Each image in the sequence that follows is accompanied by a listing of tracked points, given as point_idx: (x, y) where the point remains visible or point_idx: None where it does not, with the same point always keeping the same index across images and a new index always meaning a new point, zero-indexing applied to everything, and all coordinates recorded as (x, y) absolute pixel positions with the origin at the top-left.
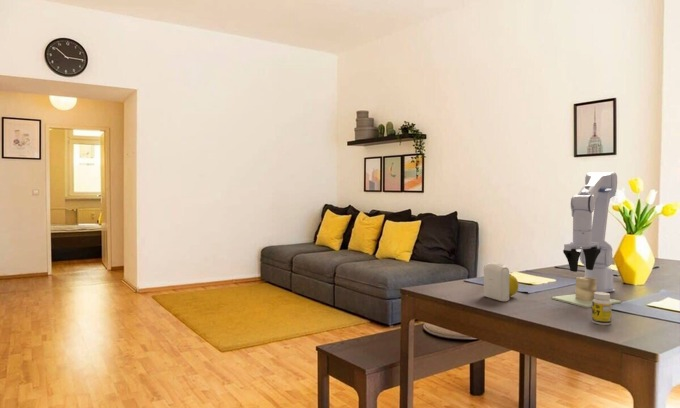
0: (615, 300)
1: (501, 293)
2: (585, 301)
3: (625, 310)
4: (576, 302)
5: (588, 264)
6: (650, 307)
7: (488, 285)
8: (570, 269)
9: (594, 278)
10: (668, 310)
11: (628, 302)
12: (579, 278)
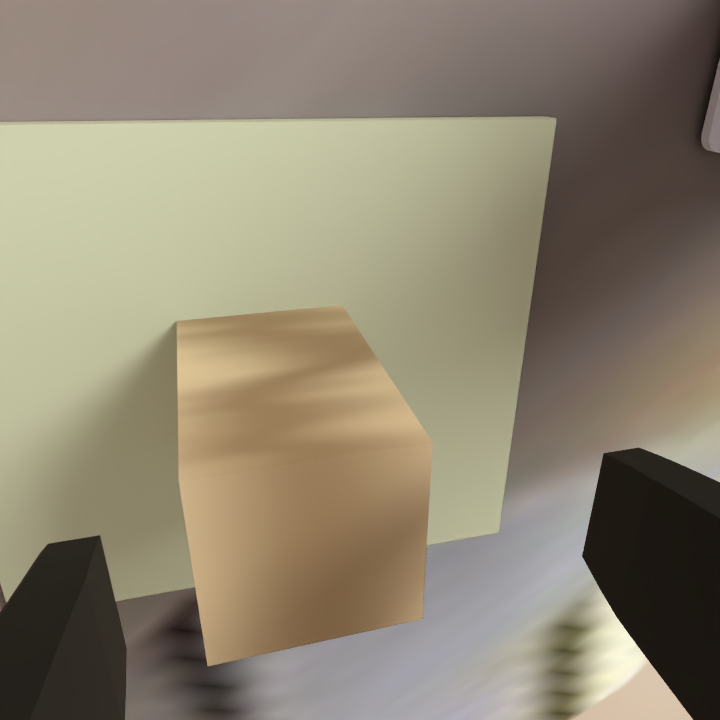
0: (476, 506)
1: None
2: (160, 475)
3: (286, 698)
4: (10, 490)
5: (677, 577)
6: (532, 652)
7: None
8: (27, 584)
9: (419, 595)
10: (544, 716)
11: (558, 517)
12: (190, 545)
